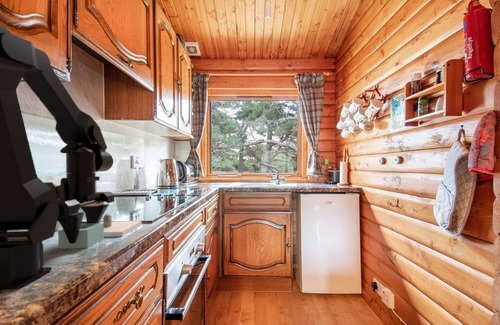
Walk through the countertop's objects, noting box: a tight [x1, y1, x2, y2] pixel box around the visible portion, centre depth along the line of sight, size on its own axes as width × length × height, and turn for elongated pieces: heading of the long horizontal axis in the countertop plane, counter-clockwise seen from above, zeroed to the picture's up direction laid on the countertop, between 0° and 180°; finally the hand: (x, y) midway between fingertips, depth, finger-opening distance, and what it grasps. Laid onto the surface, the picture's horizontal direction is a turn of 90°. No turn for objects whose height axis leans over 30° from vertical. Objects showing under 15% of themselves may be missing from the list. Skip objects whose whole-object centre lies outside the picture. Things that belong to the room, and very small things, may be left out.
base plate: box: [99, 213, 142, 238], centre depth 69 cm, size 12×14×5 cm
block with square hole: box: [57, 223, 105, 250], centre depth 58 cm, size 6×6×4 cm
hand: (82, 238), depth 58 cm, fingers closed on block with square hole, 6 cm apart
